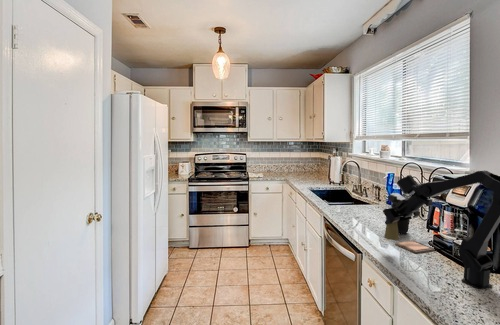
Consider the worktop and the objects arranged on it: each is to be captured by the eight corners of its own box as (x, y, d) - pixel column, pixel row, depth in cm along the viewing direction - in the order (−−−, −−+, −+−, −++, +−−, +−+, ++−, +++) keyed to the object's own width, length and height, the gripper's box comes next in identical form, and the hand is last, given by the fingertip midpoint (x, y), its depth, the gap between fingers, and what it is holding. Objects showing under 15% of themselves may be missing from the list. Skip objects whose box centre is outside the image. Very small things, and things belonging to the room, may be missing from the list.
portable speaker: (411, 232, 160) (413, 197, 159) (403, 236, 155) (404, 199, 153) (396, 228, 167) (397, 195, 166) (387, 231, 162) (389, 197, 160)
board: (448, 248, 137) (449, 246, 137) (415, 253, 131) (416, 251, 131) (426, 240, 149) (426, 237, 149) (395, 244, 142) (395, 242, 142)
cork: (386, 234, 137) (387, 211, 136) (400, 237, 133) (401, 213, 132) (382, 238, 132) (383, 214, 131) (397, 241, 128) (397, 216, 127)
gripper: (414, 186, 132) (391, 205, 142) (387, 189, 123) (365, 210, 133) (431, 206, 126) (406, 225, 136) (404, 212, 117) (379, 232, 127)
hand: (389, 222), depth 133 cm, fingers closed on cork, 5 cm apart
